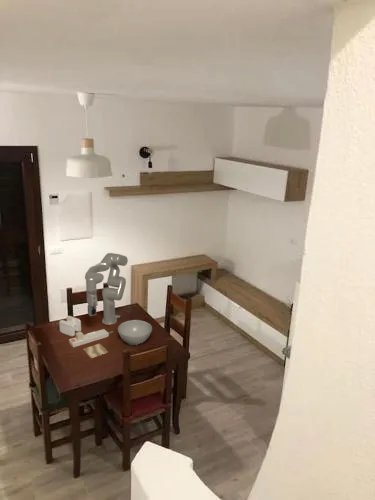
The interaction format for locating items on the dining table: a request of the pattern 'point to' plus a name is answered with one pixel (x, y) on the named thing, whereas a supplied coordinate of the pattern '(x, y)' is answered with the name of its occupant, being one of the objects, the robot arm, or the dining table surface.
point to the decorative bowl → (134, 331)
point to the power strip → (88, 337)
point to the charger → (90, 311)
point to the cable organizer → (70, 326)
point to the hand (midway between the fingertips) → (92, 312)
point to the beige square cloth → (95, 350)
